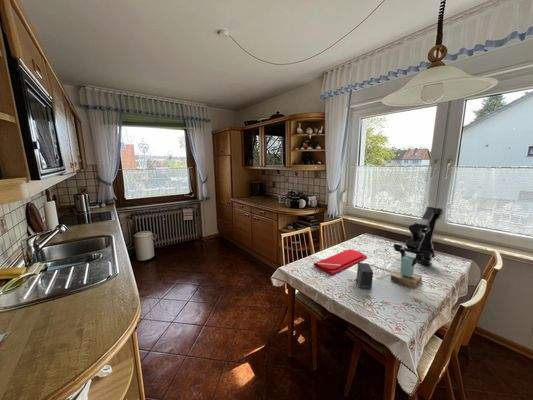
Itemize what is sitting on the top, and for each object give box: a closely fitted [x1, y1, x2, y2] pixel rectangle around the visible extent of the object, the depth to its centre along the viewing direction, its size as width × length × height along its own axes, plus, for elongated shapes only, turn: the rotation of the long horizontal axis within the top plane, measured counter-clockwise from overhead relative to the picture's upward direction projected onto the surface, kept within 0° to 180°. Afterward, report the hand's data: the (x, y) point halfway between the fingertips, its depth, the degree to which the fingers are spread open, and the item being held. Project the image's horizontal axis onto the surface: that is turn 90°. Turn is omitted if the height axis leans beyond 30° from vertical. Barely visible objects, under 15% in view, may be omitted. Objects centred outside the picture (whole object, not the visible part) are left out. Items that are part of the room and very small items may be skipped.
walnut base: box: [390, 268, 423, 290], centre depth 129 cm, size 12×12×3 cm
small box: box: [356, 262, 374, 290], centre depth 125 cm, size 11×6×10 cm, turn 168°
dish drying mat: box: [313, 249, 368, 276], centre depth 153 cm, size 16×41×4 cm, turn 127°
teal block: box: [400, 254, 415, 277], centre depth 128 cm, size 5×5×10 cm
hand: (407, 264), depth 127 cm, fingers closed on teal block, 5 cm apart
